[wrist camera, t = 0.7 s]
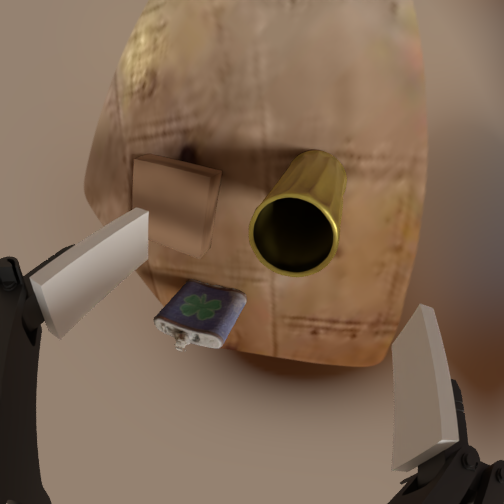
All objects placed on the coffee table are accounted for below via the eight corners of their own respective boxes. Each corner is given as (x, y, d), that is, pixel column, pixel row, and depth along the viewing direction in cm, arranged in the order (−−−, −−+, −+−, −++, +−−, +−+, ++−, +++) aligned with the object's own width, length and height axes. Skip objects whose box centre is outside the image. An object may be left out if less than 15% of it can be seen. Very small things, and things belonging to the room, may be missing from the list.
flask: (248, 291, 37) (215, 349, 28) (247, 308, 39) (216, 366, 30) (185, 276, 39) (142, 324, 30) (187, 293, 41) (147, 342, 32)
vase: (284, 202, 30) (238, 272, 18) (289, 145, 27) (242, 176, 15) (341, 212, 29) (334, 293, 17) (350, 155, 26) (357, 195, 14)
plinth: (149, 153, 32) (134, 158, 30) (222, 171, 30) (210, 177, 28) (145, 224, 37) (132, 233, 35) (210, 247, 36) (199, 259, 33)
